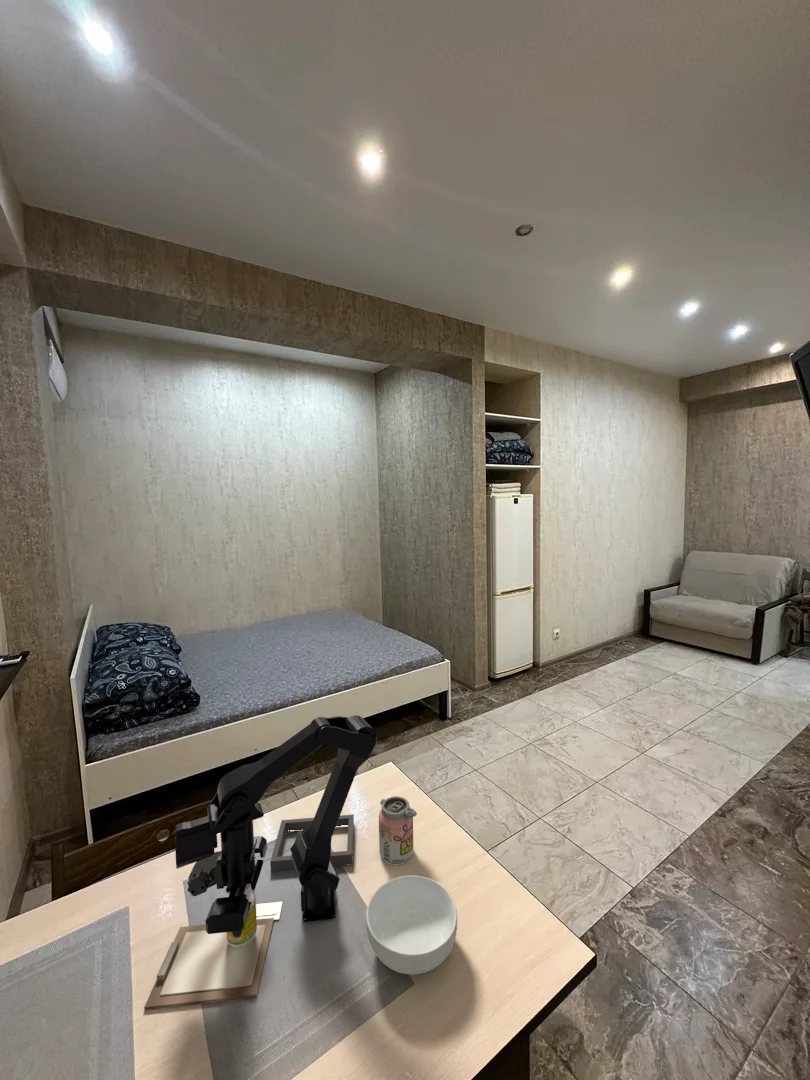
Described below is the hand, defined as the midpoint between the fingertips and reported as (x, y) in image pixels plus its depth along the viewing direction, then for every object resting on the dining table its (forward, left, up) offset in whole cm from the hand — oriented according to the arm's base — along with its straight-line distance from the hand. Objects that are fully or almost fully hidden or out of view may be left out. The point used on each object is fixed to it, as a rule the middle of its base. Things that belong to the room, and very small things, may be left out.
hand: (241, 921), depth 83 cm
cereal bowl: (-32, +4, -5) cm, 33 cm away
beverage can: (-31, -19, -4) cm, 37 cm away
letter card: (-3, -6, -4) cm, 8 cm away
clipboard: (+4, +3, -4) cm, 7 cm away
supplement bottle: (0, 0, -3) cm, 3 cm away
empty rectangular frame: (-11, -23, -4) cm, 26 cm away
